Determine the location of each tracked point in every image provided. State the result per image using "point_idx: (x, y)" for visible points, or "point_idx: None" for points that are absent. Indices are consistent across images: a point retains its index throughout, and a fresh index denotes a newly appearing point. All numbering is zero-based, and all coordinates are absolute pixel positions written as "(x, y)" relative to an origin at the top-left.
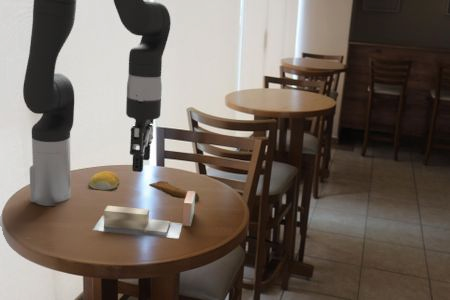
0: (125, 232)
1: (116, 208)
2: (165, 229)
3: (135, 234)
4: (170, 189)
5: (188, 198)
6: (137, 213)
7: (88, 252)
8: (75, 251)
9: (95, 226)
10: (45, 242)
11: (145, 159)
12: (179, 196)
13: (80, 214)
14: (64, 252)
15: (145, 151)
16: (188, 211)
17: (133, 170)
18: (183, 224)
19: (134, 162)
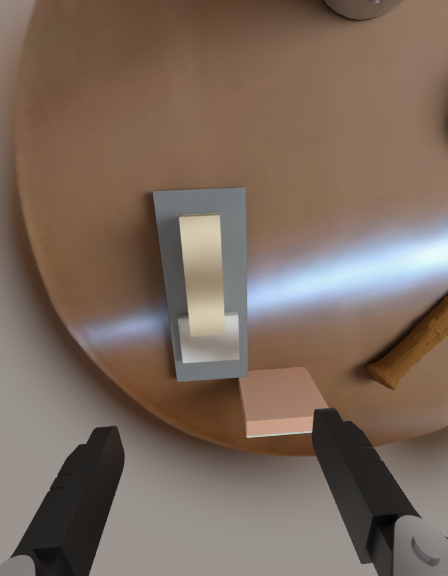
0: (168, 276)
1: (206, 248)
2: (194, 359)
3: (167, 300)
4: (441, 316)
5: (278, 425)
6: (190, 313)
7: (66, 217)
8: (56, 184)
9: (176, 192)
10: (64, 76)
11: (314, 430)
12: (405, 339)
13: (264, 108)
14: (39, 157)
15: (338, 482)
16: (243, 412)
17: (97, 430)
18: (239, 380)
19: (45, 501)
